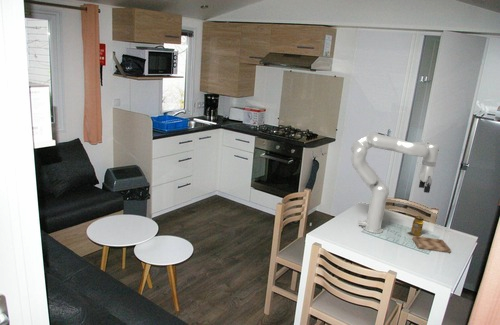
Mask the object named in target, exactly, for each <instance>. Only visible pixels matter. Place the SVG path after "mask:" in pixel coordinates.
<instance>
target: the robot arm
mask: <svg viewBox="0 0 500 325" xmlns="http://www.w3.org/2000/svg"><path fill="white" fill-rule="evenodd" d="M371 148H374V149H380V150H384V151H385V150H387V151H392V152H394V153H395V152H396V153H400V154H403V155H409V156H413V157H419V158H422V164H421V168H420V173H419V184H418V188H420V189H421V188H422V189H423V192H424V193H427V194H429V193H430V191H431V187H432V183H433V178H434V170H435V169H434V168H436V164H437V158H438V153H439V148H440V146H439V144H436V143H433V142H432V143H431V142H428V143H426V142H422V141H414V142H412V141H411V142H410V141H406V140H404V139H402V138H401V137H396V136H391V135H390V136H389V135H385V134H379V133H378V132H375V131H374V132H370V133H368V134H366V135H365V136H363V137H362V138H360V139H358V140H356V141H355V142H353V143H352V145H351V148H350V150H351V153H352V155H351V164H352V167H353V168H354V170H355V171H356V173H357V174H358V175H359V177H360V178H361V180H362V181H363V182H364V183H365V185H366V186H367V187H368V188H369V190H370V191H371V193H372V194H371V197H370V201H369V205H368V212H367V215H366V219H365V220H363V221H361V220H360V221H359V220H358V221H357V223H358V225H360V226H362V229H363V230H365V231H367V232H369V233H372V234H381V233H383V230H384V229H383V227H382V224H383V219H384V214H385V209H386V204H387V200H388V197H389V195H390V190H389V187H388V185H387V184H386V183H385V182H384V181H383V180H382V178H381V177H380V176H379V175H378V174H377V172H376V171H375V169H374V168H373V167H371V166H370V165H369V163H368V162H367V160H366V159H367V158H366V157H367V154H368V150H370V149H371Z"/></svg>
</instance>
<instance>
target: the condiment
mask: <svg viewBox="0 0 500 325" xmlns="http://www.w3.org/2000/svg"><path fill="white" fill-rule="evenodd" d="M424 220H425V219H424V217H422V216H420V215H416V216H414V219H413V221H412V227H411V229H410V231H408V232H406V234H407V235H409V236H411V237H413V236H419V237H424V235H423V234H422V231H423V227H424V226H423V225H424Z"/></svg>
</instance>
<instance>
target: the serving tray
mask: <svg viewBox="0 0 500 325" xmlns="http://www.w3.org/2000/svg"><path fill="white" fill-rule="evenodd" d="M411 237H412V238H411V240H412V241H413V243H414V244H415V246H416V247H417V248H418V249H419V250H426V251H433V252H439V253H447V254H450V253H451V248H450V247H449V245H447V243H446V242H445V241H444V239H442V238H441V239H439V238H433V237H427V236H426V237H425V236H421V237H419V236H411Z"/></svg>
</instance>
